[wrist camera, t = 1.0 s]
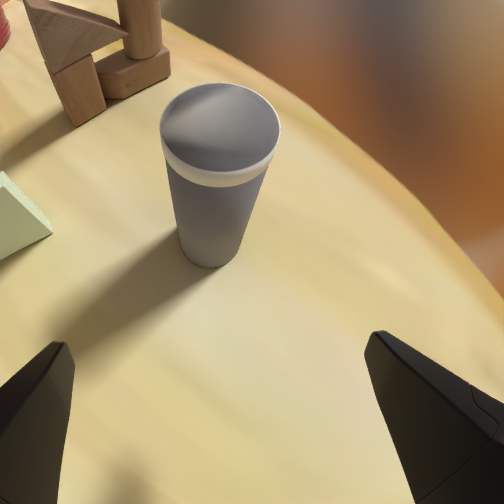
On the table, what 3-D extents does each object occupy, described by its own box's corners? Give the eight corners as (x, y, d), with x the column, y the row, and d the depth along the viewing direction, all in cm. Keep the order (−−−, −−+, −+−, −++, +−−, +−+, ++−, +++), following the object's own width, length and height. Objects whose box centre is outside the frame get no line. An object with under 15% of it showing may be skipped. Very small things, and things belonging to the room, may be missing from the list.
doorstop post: (251, 252, 24) (302, 149, 11) (195, 279, 22) (187, 192, 10) (224, 201, 24) (246, 72, 12) (169, 225, 23) (144, 102, 11)
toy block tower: (64, 109, 25) (10, -43, 8) (155, 60, 28) (149, -91, 11) (76, 129, 25) (14, -37, 8) (172, 77, 28) (172, -88, 11)
